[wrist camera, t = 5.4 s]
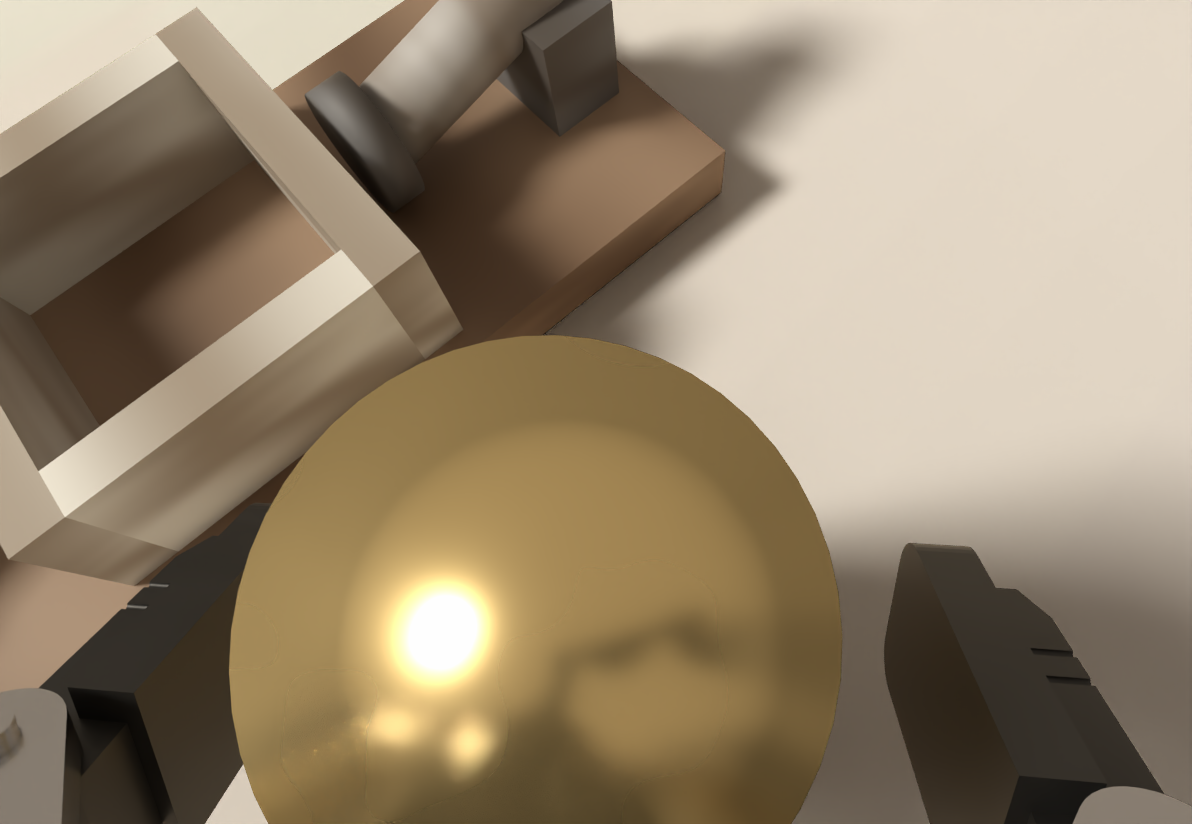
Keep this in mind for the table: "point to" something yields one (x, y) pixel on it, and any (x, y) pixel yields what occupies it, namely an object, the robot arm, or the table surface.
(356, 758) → the ball
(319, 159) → the shaft rig
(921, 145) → the table surface
